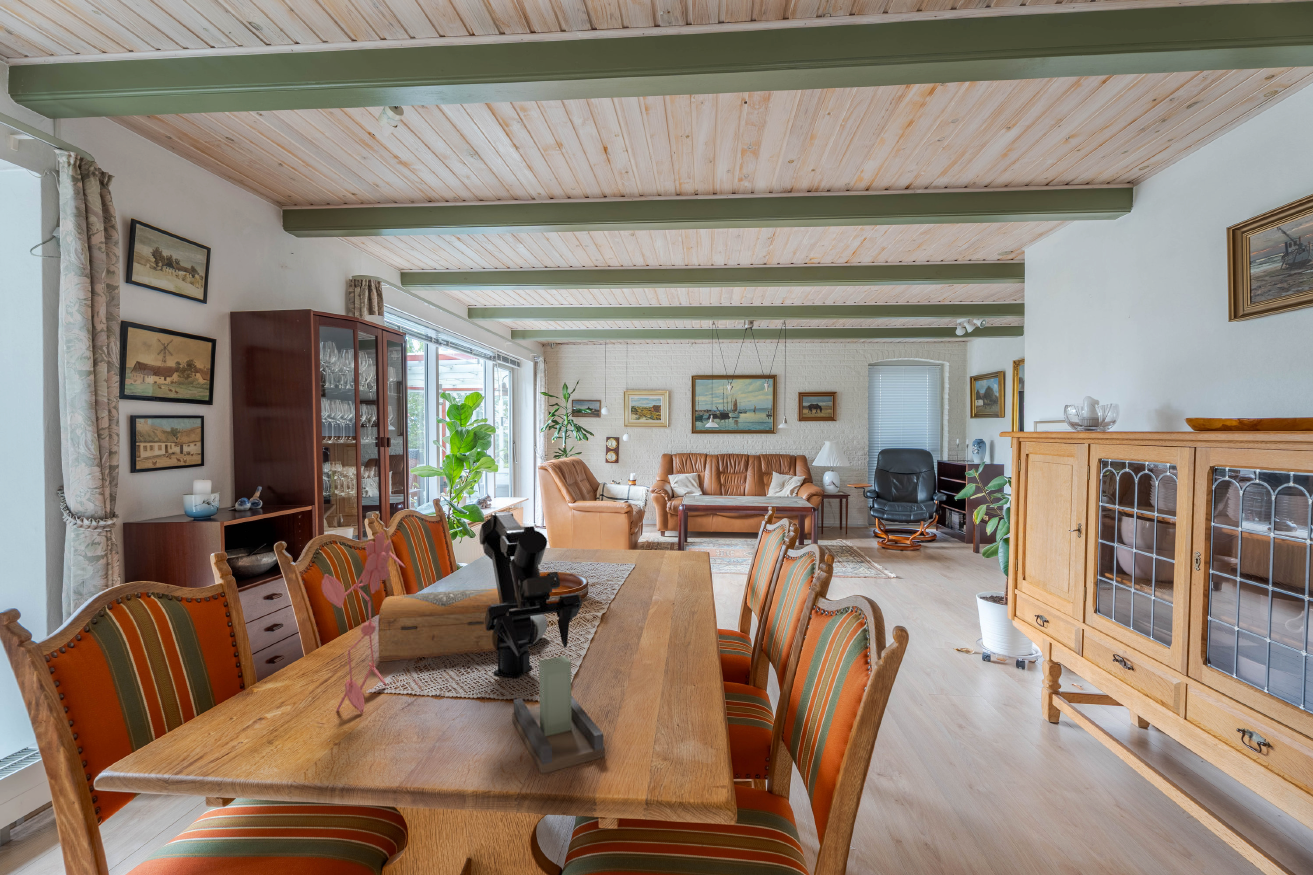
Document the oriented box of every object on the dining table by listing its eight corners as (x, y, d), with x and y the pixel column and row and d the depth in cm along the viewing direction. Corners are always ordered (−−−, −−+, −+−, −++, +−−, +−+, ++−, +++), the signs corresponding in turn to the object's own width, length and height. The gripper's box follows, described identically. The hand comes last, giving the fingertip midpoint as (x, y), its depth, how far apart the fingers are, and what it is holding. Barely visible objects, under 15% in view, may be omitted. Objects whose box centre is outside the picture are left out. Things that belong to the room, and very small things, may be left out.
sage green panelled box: (539, 728, 108) (539, 660, 108) (566, 722, 110) (565, 655, 110) (544, 736, 105) (543, 666, 105) (571, 729, 107) (570, 661, 107)
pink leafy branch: (308, 731, 110) (309, 543, 110) (373, 674, 136) (374, 522, 136) (390, 732, 110) (392, 545, 110) (440, 675, 136) (442, 523, 136)
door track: (512, 720, 114) (512, 699, 114) (567, 707, 119) (567, 688, 119) (541, 773, 96) (541, 749, 96) (604, 756, 101) (604, 733, 101)
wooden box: (507, 630, 166) (506, 581, 166) (505, 651, 150) (504, 597, 150) (392, 639, 160) (391, 588, 159) (377, 663, 144) (376, 606, 143)
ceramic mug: (549, 636, 160) (548, 608, 160) (539, 647, 152) (538, 617, 152) (512, 635, 162) (511, 607, 162) (500, 646, 154) (499, 616, 154)
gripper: (486, 564, 114) (499, 638, 105) (578, 554, 123) (598, 622, 113) (479, 594, 122) (491, 667, 112) (567, 583, 130) (584, 649, 120)
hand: (542, 650), depth 114 cm, fingers open, 9 cm apart
